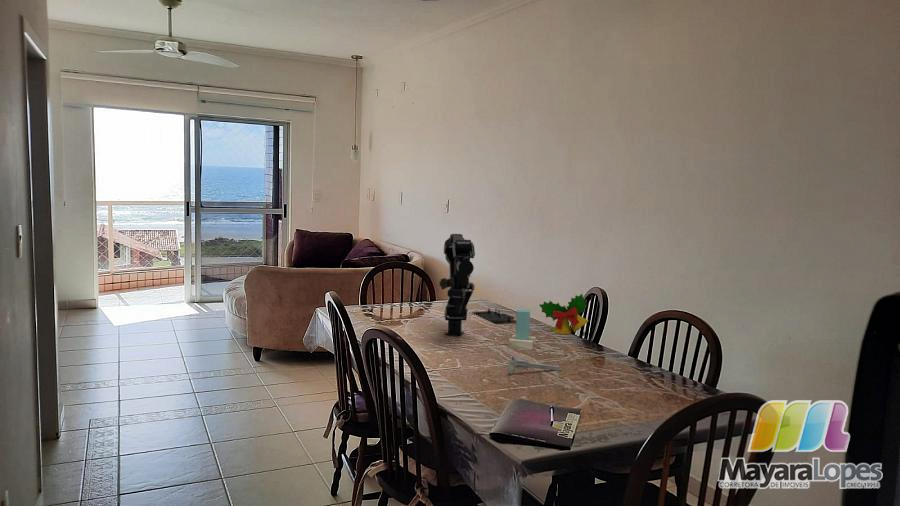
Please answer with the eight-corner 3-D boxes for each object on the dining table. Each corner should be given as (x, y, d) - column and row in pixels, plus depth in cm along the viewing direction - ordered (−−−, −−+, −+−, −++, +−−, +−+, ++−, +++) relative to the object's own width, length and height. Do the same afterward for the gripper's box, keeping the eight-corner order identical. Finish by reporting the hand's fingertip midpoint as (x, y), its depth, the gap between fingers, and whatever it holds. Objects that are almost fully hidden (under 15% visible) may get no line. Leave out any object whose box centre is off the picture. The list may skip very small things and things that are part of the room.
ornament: (545, 342, 274) (532, 310, 270) (549, 332, 281) (537, 302, 278) (592, 333, 264) (580, 300, 260) (596, 324, 271) (584, 291, 267)
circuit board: (471, 314, 306) (471, 307, 306) (497, 312, 312) (497, 306, 312) (496, 325, 283) (496, 318, 283) (523, 323, 289) (524, 316, 289)
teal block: (515, 336, 250) (516, 309, 249) (528, 336, 250) (529, 309, 248) (516, 339, 245) (517, 311, 244) (529, 339, 245) (530, 312, 243)
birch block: (513, 343, 253) (513, 334, 253) (535, 345, 251) (535, 336, 250) (508, 348, 245) (509, 339, 244) (531, 351, 242) (532, 342, 242)
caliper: (509, 375, 210) (509, 357, 209) (507, 374, 211) (508, 356, 210) (563, 370, 217) (564, 352, 217) (561, 369, 218) (562, 351, 218)
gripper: (448, 267, 256) (447, 305, 258) (434, 273, 238) (433, 314, 240) (475, 269, 253) (474, 307, 255) (463, 275, 235) (462, 316, 237)
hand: (460, 311), depth 247 cm, fingers open, 9 cm apart
